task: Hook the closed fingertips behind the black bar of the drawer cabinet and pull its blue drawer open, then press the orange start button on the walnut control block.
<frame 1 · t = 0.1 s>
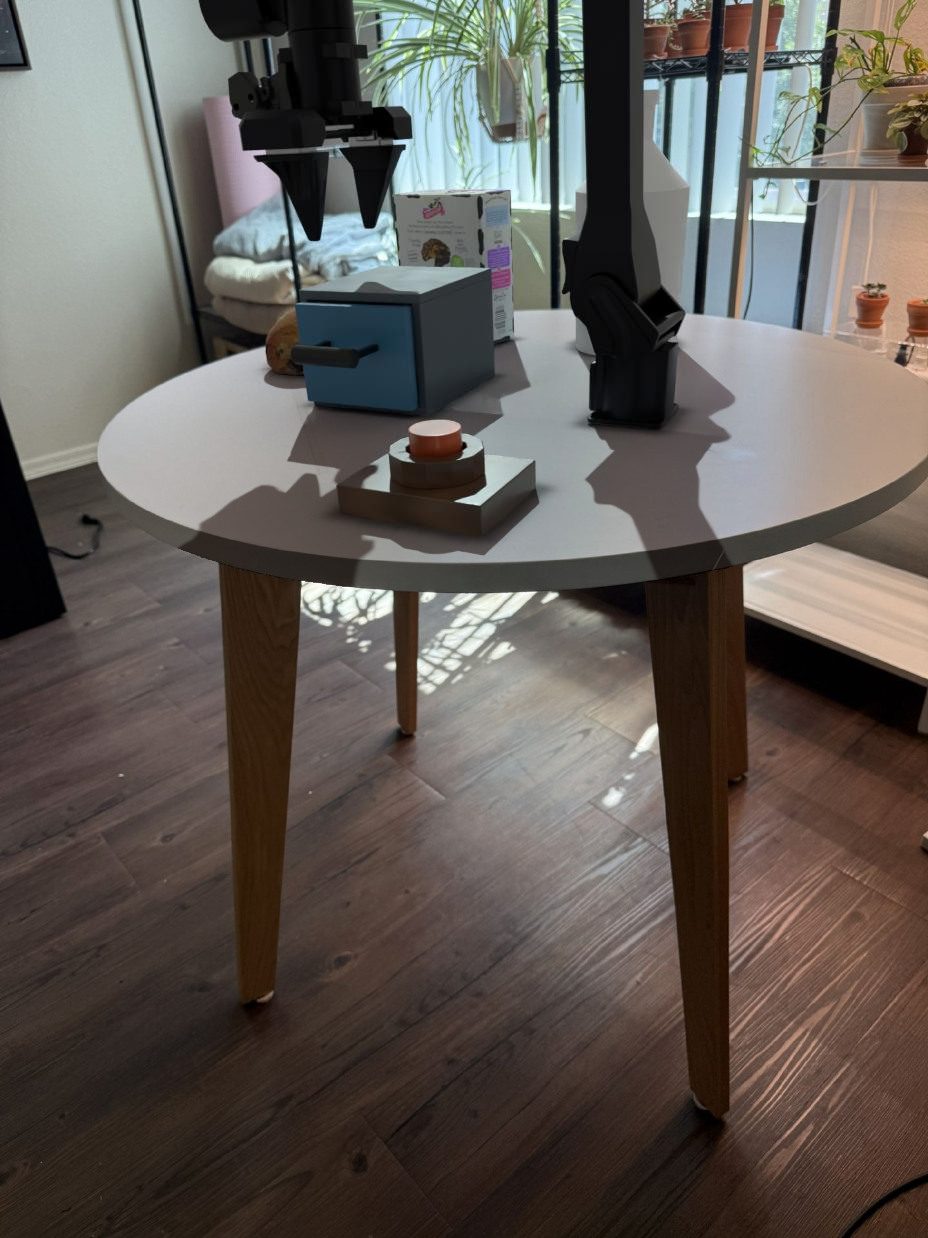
hand: (343, 234, 81), 15 cm above the table, tool pointing down, fingers open, 9 cm apart
start button: (435, 439, 60), point 4 cm above the table, slide at 0.1 cm
bottle: (625, 347, 100), on the table
control block: (439, 501, 62), on the table
candy box: (458, 339, 108), on the table
bread roll: (312, 367, 99), on the table
blue drawer: (377, 346, 82), point 5 cm above the table, slide at 0.5 cm
drawer cabinet: (407, 390, 88), on the table
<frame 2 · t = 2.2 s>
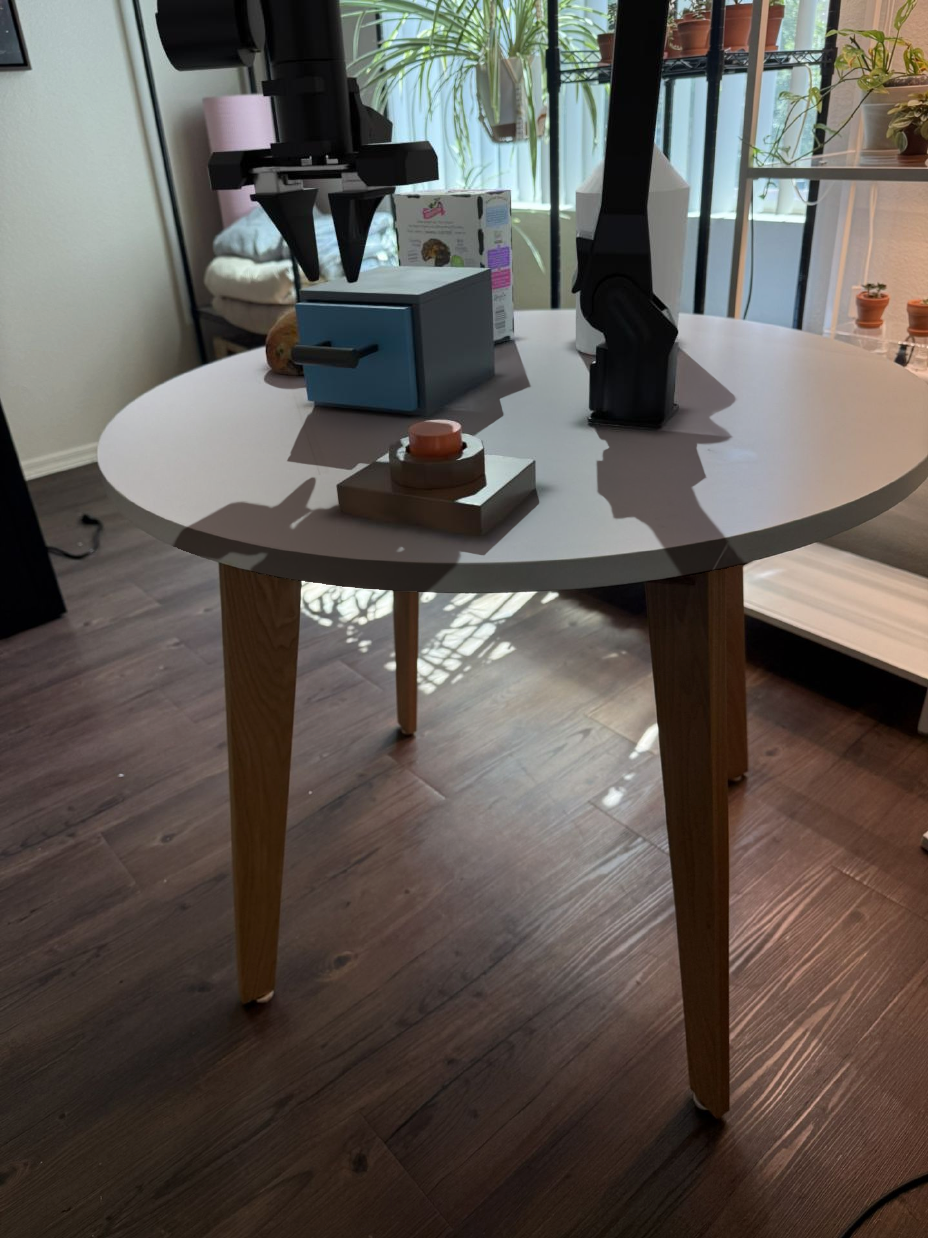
hand: (333, 281, 74), 12 cm above the table, tool pointing down, fingers open, 4 cm apart
nothing on the table moved.
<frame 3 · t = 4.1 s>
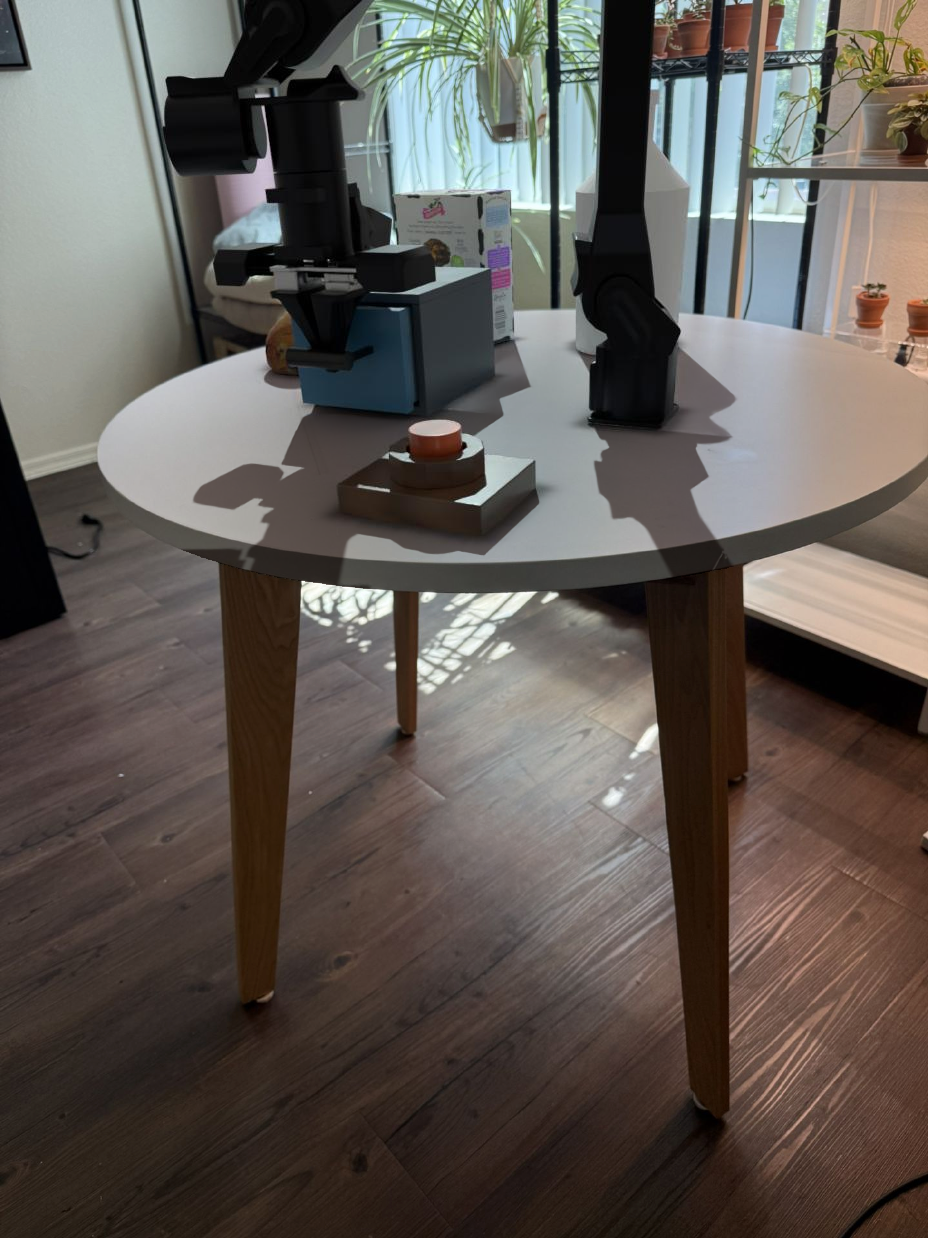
hand: (333, 371, 76), 5 cm above the table, tool pointing down, fingers closed, pressing on blue drawer
blue drawer: (373, 348, 81), point 5 cm above the table, slide at 1.3 cm, touching gripper
everything else where it was.
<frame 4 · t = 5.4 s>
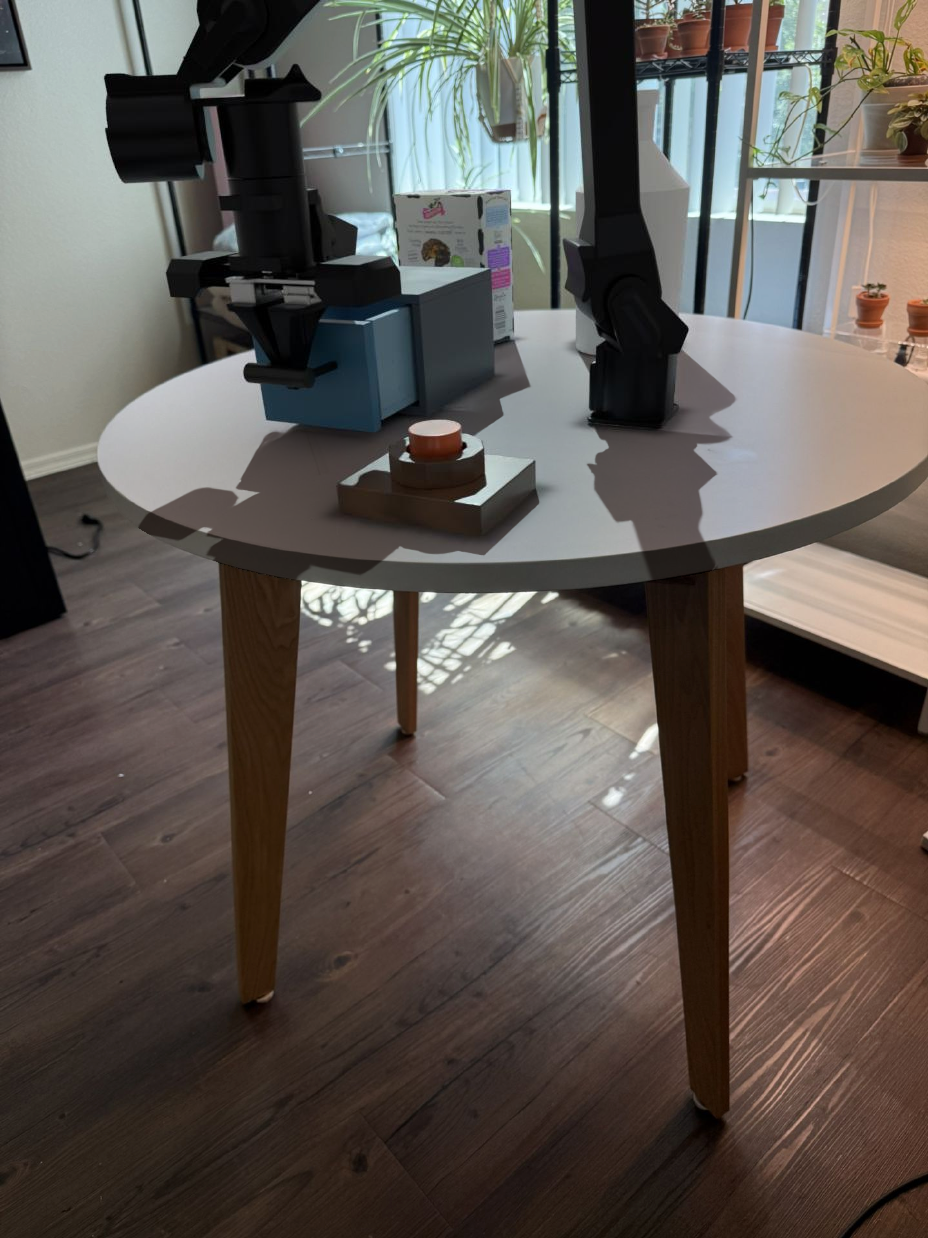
hand: (295, 388, 72), 5 cm above the table, tool pointing down, fingers closed, pressing on blue drawer
blue drawer: (339, 363, 77), point 5 cm above the table, slide at 6.9 cm, touching gripper
everything else where it was.
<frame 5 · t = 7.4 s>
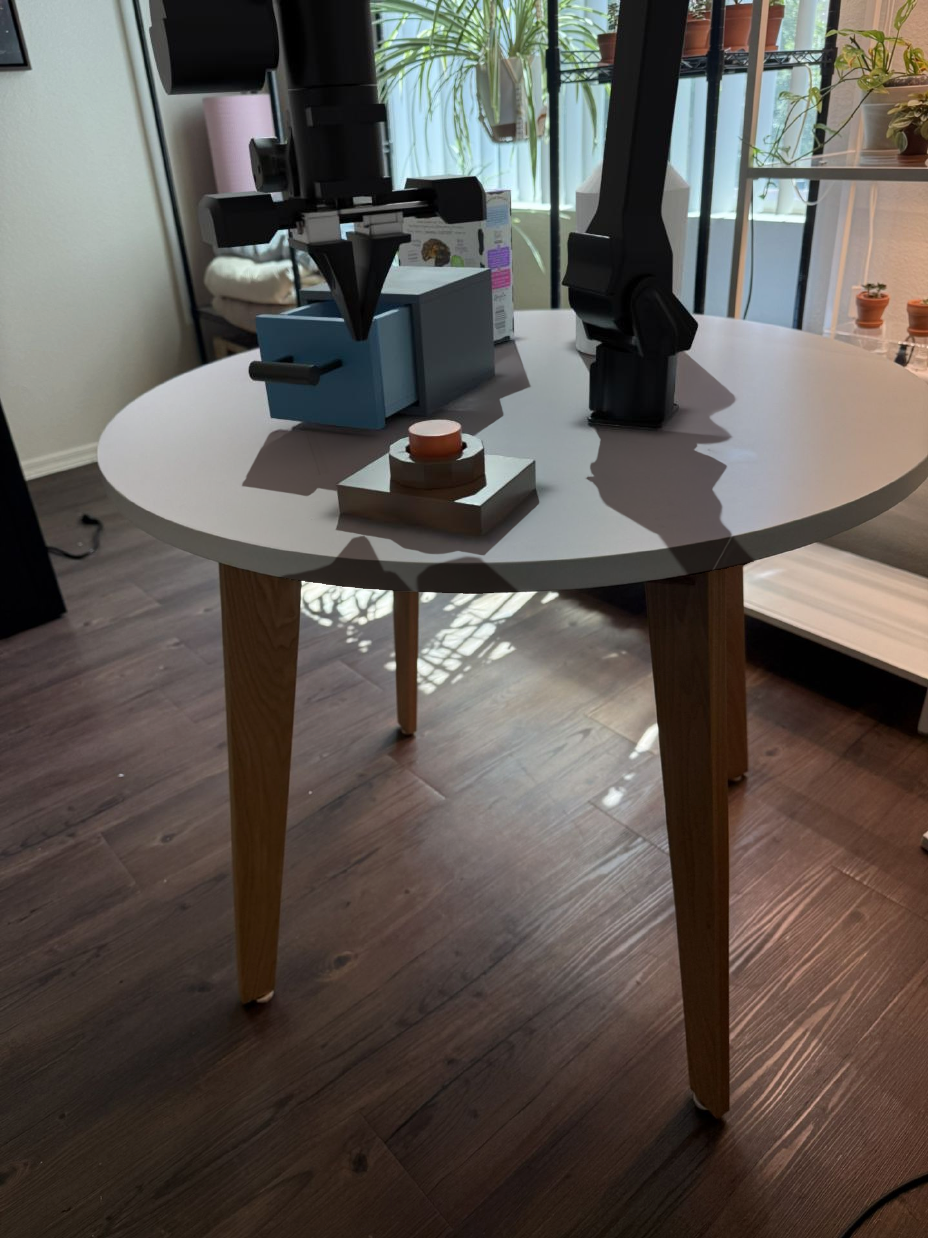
hand: (359, 340, 63), 10 cm above the table, tool pointing down, fingers closed
blue drawer: (343, 361, 77), point 5 cm above the table, slide at 6.2 cm
everything else where it was.
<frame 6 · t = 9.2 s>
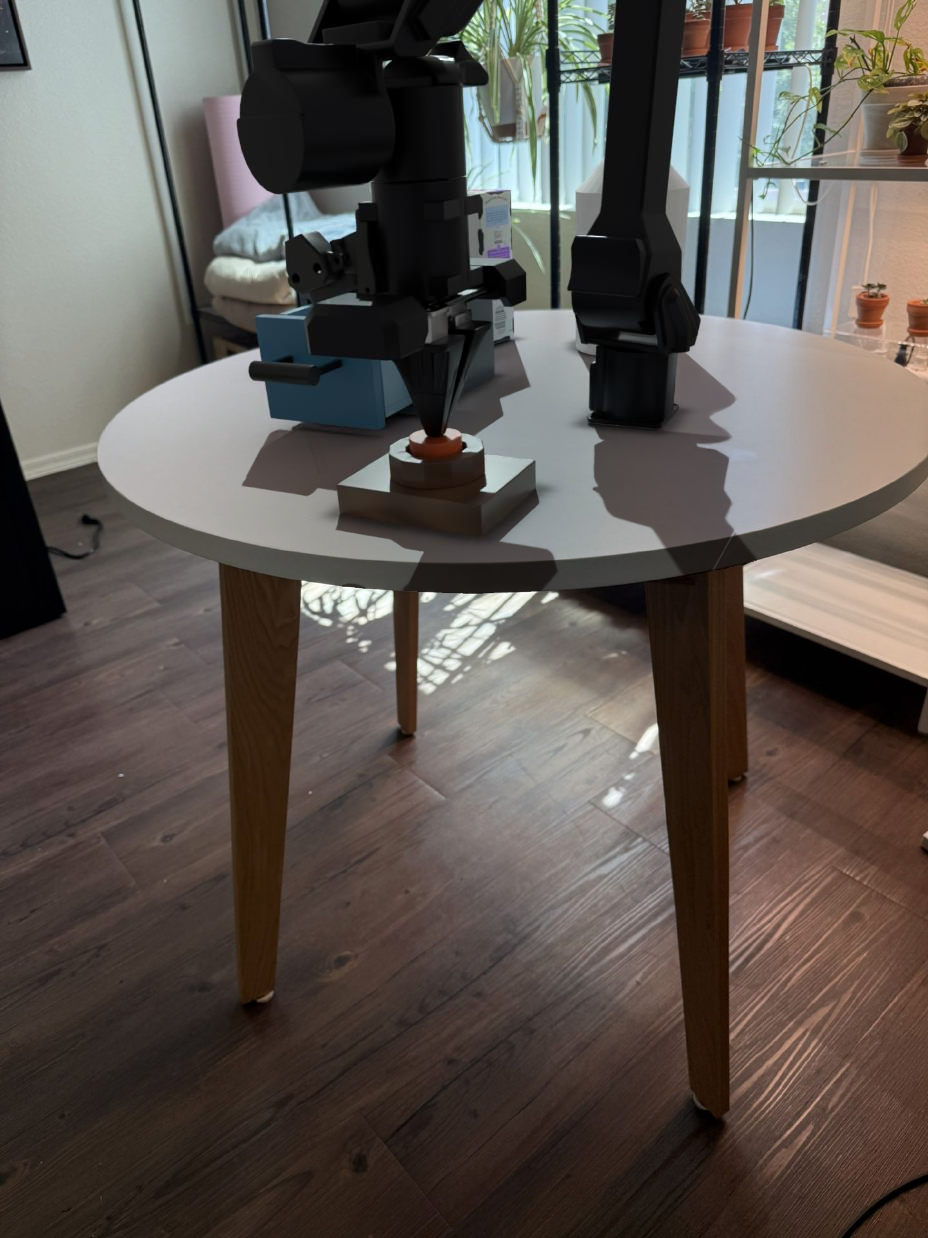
hand: (435, 435, 60), 5 cm above the table, tool pointing down, fingers closed, pressing on start button
start button: (436, 447, 60), point 4 cm above the table, slide at -0.5 cm, touching gripper
everything else where it was.
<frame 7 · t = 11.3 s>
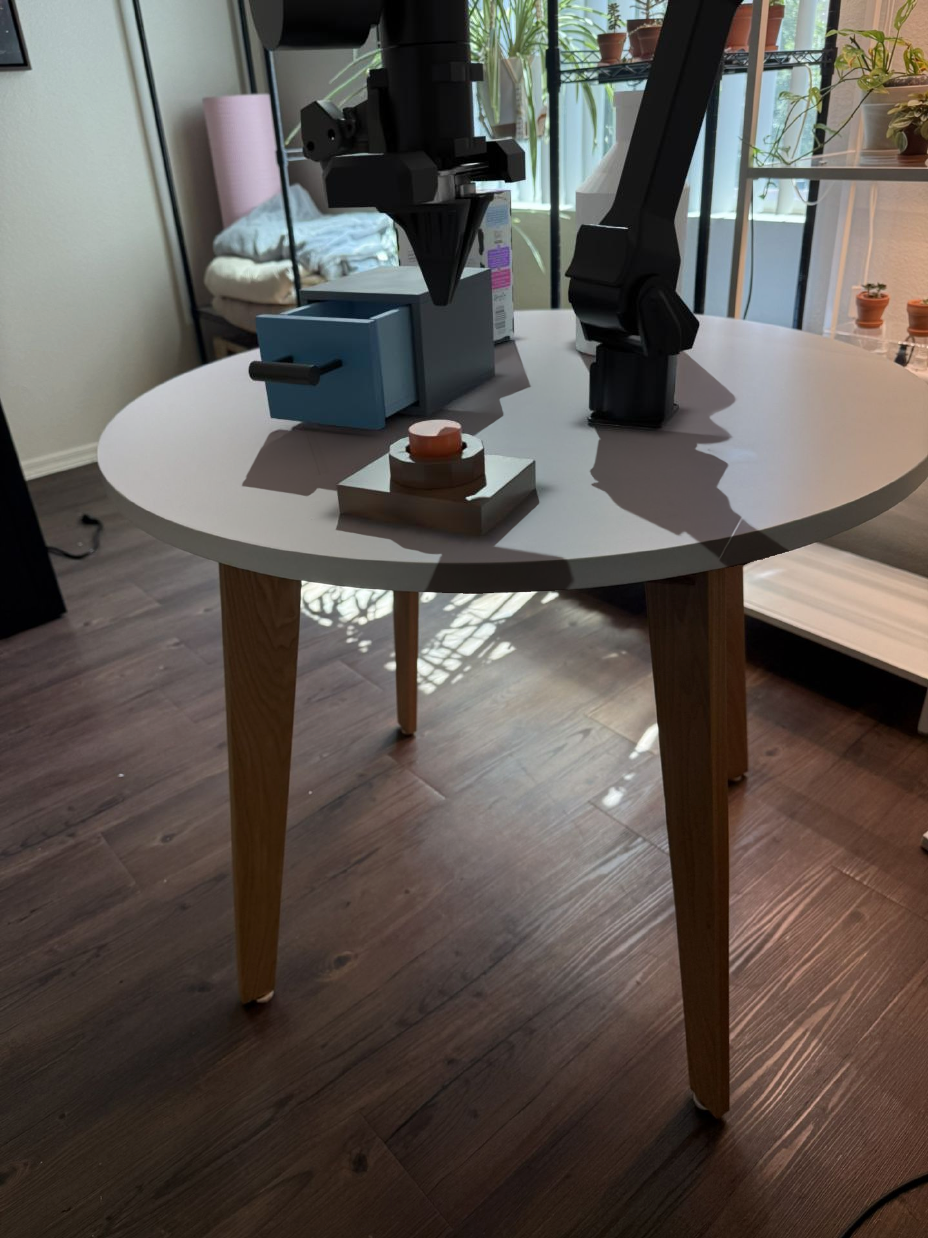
hand: (442, 305, 63), 12 cm above the table, tool pointing down, fingers closed
start button: (435, 439, 60), point 4 cm above the table, slide at 0.1 cm
everything else where it was.
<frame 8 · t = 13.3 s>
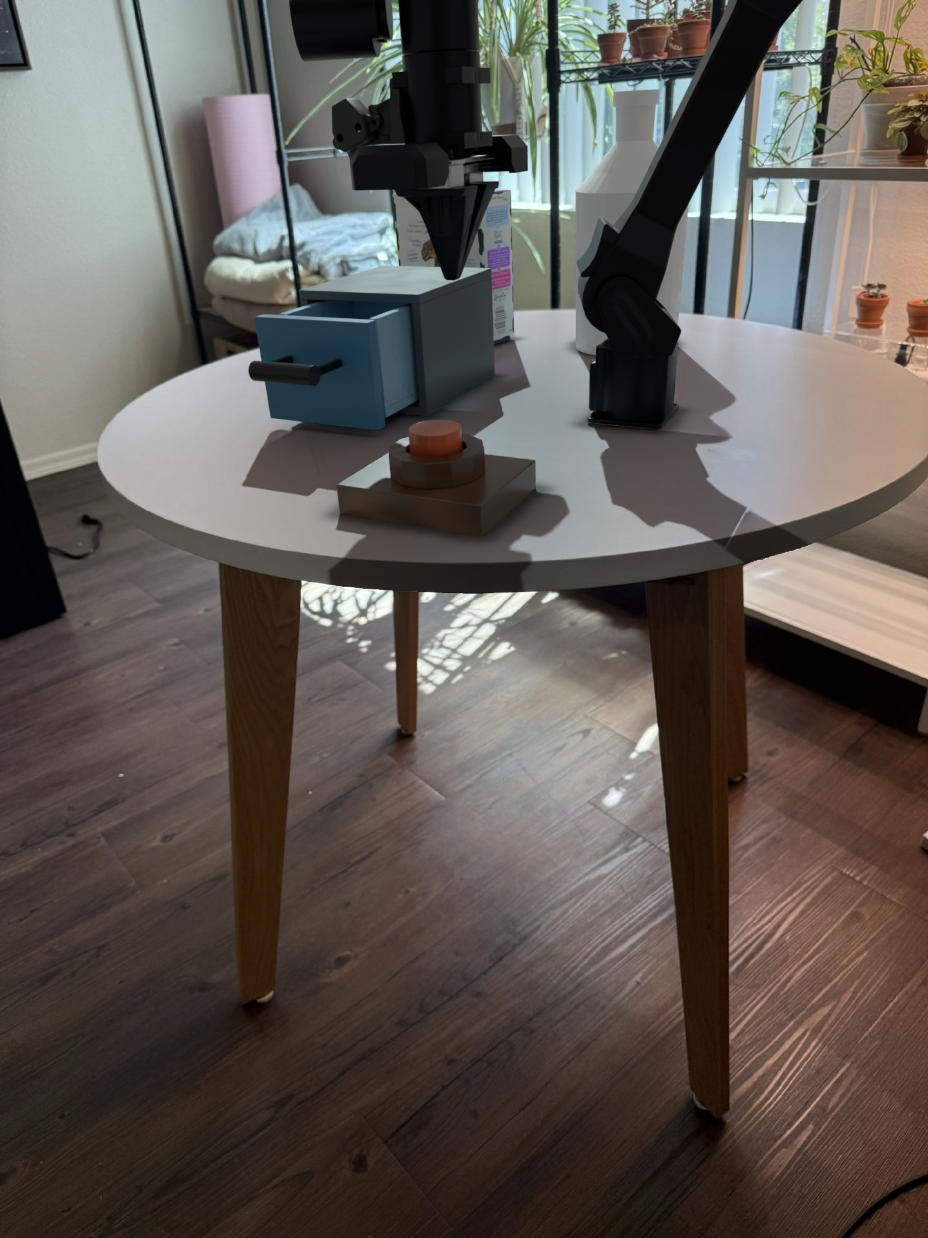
hand: (452, 279, 72), 12 cm above the table, tool pointing down, fingers closed
nothing on the table moved.
at the end: blue drawer slide at 6.2 cm; start button pushed in 1.1 cm at the most during the clip, back to where it started at the end; start button slide at 0.1 cm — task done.
